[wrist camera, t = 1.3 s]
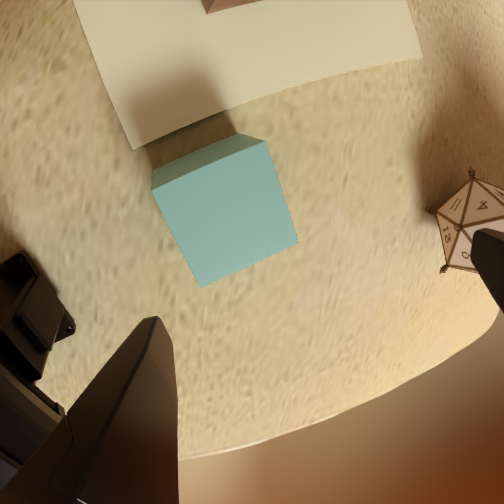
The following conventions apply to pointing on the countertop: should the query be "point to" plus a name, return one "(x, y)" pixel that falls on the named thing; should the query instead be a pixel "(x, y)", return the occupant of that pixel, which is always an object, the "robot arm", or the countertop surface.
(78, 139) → the countertop surface
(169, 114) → the build mat
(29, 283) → the robot arm
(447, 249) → the game die
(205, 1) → the walnut side block
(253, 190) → the teal block
